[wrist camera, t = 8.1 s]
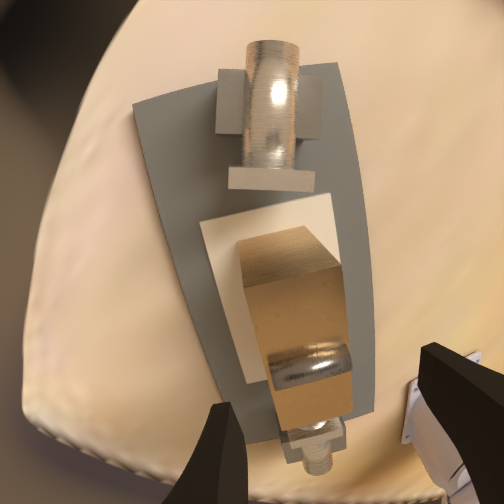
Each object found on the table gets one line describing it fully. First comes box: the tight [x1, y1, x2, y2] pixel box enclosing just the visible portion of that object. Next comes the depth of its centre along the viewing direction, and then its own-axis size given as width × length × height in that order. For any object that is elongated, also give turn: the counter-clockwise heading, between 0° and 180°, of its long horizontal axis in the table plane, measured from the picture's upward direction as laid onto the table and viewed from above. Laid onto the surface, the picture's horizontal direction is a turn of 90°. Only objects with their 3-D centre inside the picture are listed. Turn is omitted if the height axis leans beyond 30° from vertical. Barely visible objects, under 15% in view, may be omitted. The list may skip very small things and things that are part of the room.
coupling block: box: [238, 225, 353, 431], centre depth 15 cm, size 4×8×7 cm, turn 13°
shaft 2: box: [275, 411, 346, 476], centre depth 20 cm, size 6×4×5 cm
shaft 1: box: [215, 40, 323, 193], centre depth 13 cm, size 6×4×5 cm
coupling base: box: [132, 62, 375, 444], centre depth 19 cm, size 25×11×1 cm, turn 12°
